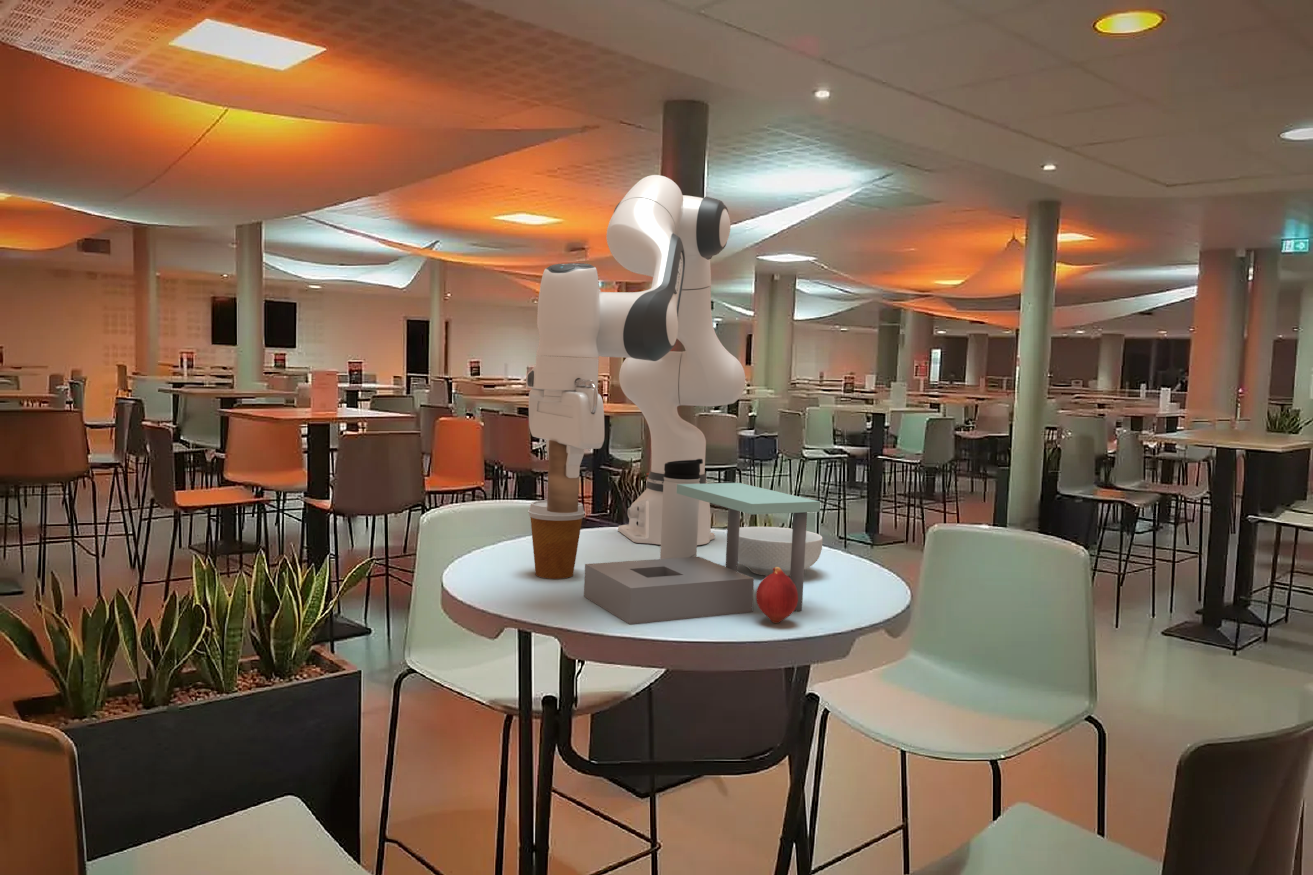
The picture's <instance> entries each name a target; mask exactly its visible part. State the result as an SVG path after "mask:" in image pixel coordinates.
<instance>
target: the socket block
mask: <svg viewBox="0 0 1313 875" xmlns="http://www.w3.org/2000/svg"><path fill="white" fill-rule="evenodd" d="M754 582H755V578H754V577H752V576H749V575H746V574H745V573H742V572H739V571H738V570H737V571H734V570H732V569H729V568H727V567H726V566H724V565H721V564H720V563H716V562H714V561H711V560H708V559H705V558H704V557H701V556H696V557H685V558H670V559H660V558H659V559H657V558H655V559H643V560H642V559H641V560H628V561H627V560H626V561H612V562H611V561H609V562H595V563H594V562H593V563H584V584H583V597H584V598H586V599H588V600H589V601H591V602H592V603H595V604H596V605H597V606H599V607H600V608H602V609H604V610H605V611H607V612H609V613H610V614H612V615H614V616H616V617H617V618H618V619H620V620H622V621H623V622H625V623H626V624H628V625H635V624H644V623H645V624H647V623H655V622H664V621H666V622H667V621H674V620H675V621H676V620H683V619H694V618H695V619H696V618H703V617H713V616H722V615H723V616H725V615H736V614H743V613H745V614H746V613H752V612H753V606H754V605H753V603H754V602H753V601H754Z"/></svg>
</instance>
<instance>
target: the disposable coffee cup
mask: <svg viewBox="0 0 1313 875" xmlns="http://www.w3.org/2000/svg"><path fill="white" fill-rule="evenodd" d="M529 506H530V507H529V509H528V510H527V513H528V516H529V517H530V527H531V528H530V529H531V539H532V550H533V552H532V553H533V560H534V572H535V576H537V577H539V578H543V579H550V580H551V579H552V580H559V579H568V577H569V578H571V577H573V576H574V573H575V572H574V571H575V564H576V559H577V553H578V548H579V540H580V533H581V528H582V523H583V522H582V521H583V518H584V515H585V514H586V511H585V510H584V505H583V503H581V502H579V501H578V511H577V512H573V513H556V512H550V511H547V499H544V500H543V499H542V500H536V501H531V502H530V505H529Z"/></svg>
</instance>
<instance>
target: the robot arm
mask: <svg viewBox="0 0 1313 875" xmlns="http://www.w3.org/2000/svg"><path fill="white" fill-rule="evenodd" d="M729 214H730V213H729V209H728V207H727V206H726V204H725V203H724V202H723V201H722V200H720V199H717V198H713V197H711V196H710V197H709V196H705V197H700V196H692V195H687V194H686V195H683V193H682V190H681V188H680V187H679V185H678V184H677V183H676V182H674V180H673V179H671V178H670V177H668V176H667V177H666V176H664V175H659V174H651V175H648V176H644V177H643V178H641V179H640V180H639V181H638V182H636V183H635V184H634V185H633V186H632V187H631V188H630V189H629V190H628V192H627V193H626V194H625V195H624V196H623V198H622V199H621V200H620V201H619V202H618V203H617V204H616V206H615V207H614V210H613V213H612V216H611V218H610V219H609V221H608V226H607V228H606V243H607V246H608V249H609V251H610V254H611V255H612V257H613V258H614V259H615V261H616V262H617V263H618V264H619V265H620V266H622V267H623V268H624V269H626V270H627V271H630V272H631V273H635V274H638V275H643V276H647V277H651V278H652V282H651V288H649V289H646V290H643V291H635V292H633V291H632V292H630V291H628V292H627V291H626V292H624V291H623V292H620V291H619V292H618V291H617V292H615V291H613V292H612V291H611V292H610V291H602V290H601V289H600V283H599V277H598V276H599V275H598V274H599V273H598V270H597V267H596V266H594V265H593V264H590V263H580V262H579V263H578V262H577V263H575V262H574V263H573V262H571V263H558V264H551V265H549V266H547V267H546V268H544V271H543V273H542V276H541V280H540V285H539V294H538V301H537V302H538V303H537V317H536V318H537V319H536V326H537V331H538V335H539V337H538V338H539V342H538V346H537V349H536V353H535V364H534V366H533V367H532V369H531V370H530V371H528V372H527V374H526V377H525V378H526V380H525V381H526V382H525V383H526V384H525V385H526V387H527V388H528V389H530V391H529V392H528V426H529V429H530V430H529V431H530V433H531V436H532V437H534V438H537V439H541V440H545V441H546V442H545V448H546V453H547V457H548V458H547V459H549V440H552V441H556V442H558V443H560V444H564V445H567V450H566V452H567V453H568V456H567V462H566V464H564V476H566V477H568V478H577V477H579V478H580V470H581V468H580V466H581V465H582V464H581V463H582V460H583V457H584V455H585V450H594V449H595V450H597V449H598V450H600V449H601V448H602V447H603V445H604V442H605V410H604V408H605V407H604V401H603V398H602V396H601V394H600V393H599V391H598V388H599V387H598V386H599V385H598V384H599V363H600V362H599V361H600V360H599V357H604V358H625V359H624V360H623V362H622V364H621V366H620V370H619V375H618V378H619V385H620V386H619V387H620V388H621V390H622V393H623V394H624V396H625V397H626V398H627V399H629V401H631V402H632V403H633V404H634V405H635V406H636V408H638V409H639V411H640V412H641V413H642V415H643V417H644V418H645V421H646V423H647V426H648V428H649V433H650V444H651V446H650V448H651V463H650V465H651V467H650V471H649V472H647V473H646V475H647V477H645V479H646V484H645V487H646V488H645V490H644V491H643V492H642V493H641V494H640V495H639V497H637V498H636V499H635V501H633V502H632V503H631V505H630V507H628V508H627V517H628V520H629V522H628V523H626V524H622V525H618V527H617V531H618V532H619V533H621V534H622V535H623V536H625V537H626V538H627V539H629V540H630V541H632V542H633V543H639V544H651V545H652V544H653V545H659V546H661V528H662V505H663V482H664V473H665V471H664V466H665V463H667V462H672V461H682V460H697V459H702V460H703V463H702V464H700V473H699V474H700V481H699V482H700V484H707V483H708V481H707V480H708V479H707V474H706V472H705V471H706V470H705V468H706V453H707V452H706V451H707V450H706V448H707V440H706V437H705V434H704V433H703V431H702V430H701V429H699V428H698V427H697V426H696V425H694V424H692V423H690V422H689V421H686V420H685V419H683V418H682V417H681V416H680V415H679V412H678V407H679V406H695V407H718V406H719V407H720V406H724V405H725V406H726V405H727V406H728V405H732V404H735V403H736V402H737V401H738V400H739V399H740V397H741V396H742V395H743V392H744V390H745V387H746V374H745V373H746V372H745V369H744V367H743V365H742V363H741V362H740V361H739V359H737V357H735V356H734V355H733V354H731V353H730V351H729V350H727V349H726V348H725V347H724V345H723V344H722V342H721V341H720V338H719V337H718V336H717V334H716V331H715V328H714V324H713V318H712V298H711V296H712V293H711V292H712V290H711V289H712V270H711V269H712V268H711V259H713V257H714V256H717V255H719V254H720V253H721V252H723V250H724V249H725V248H726V247H727V243H728V240H729V237H730V233H731V218H730V215H729ZM677 341H679V342H680V343H681V344H682V346H683V348H684V349H685V350H683V351H674V350H673V349H674V347H675V345H676V343H677ZM672 350H673V351H672ZM710 505H711V503H709V502H705V501H702V500H699V512H698V534H697V546H701V545H706V544H709V543H710V542H711V541H712V540H715V539H716V535H715V533H714V532H712V531H711V529H712V528H711V506H710Z"/></svg>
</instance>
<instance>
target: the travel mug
mask: <svg viewBox="0 0 1313 875" xmlns="http://www.w3.org/2000/svg"><path fill="white" fill-rule="evenodd" d="M702 463H703V460H702V459H697V460H682V461H672V462H667V463H665V466H664V471H665V473H664V482H663V505H662V528H661V545H660V551H659V552H660V554H659V556H660V557H659V559H670V558H685V557H697V554H698V553H697V549H698V545H697V534H698V512H699V500H698V499H695V498H691V497H688V496H684V495H681V494H677V484H700V482H699V481H700V474H699V473H700V464H702Z"/></svg>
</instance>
